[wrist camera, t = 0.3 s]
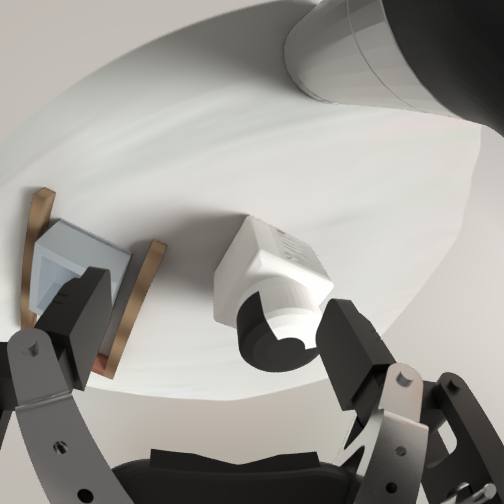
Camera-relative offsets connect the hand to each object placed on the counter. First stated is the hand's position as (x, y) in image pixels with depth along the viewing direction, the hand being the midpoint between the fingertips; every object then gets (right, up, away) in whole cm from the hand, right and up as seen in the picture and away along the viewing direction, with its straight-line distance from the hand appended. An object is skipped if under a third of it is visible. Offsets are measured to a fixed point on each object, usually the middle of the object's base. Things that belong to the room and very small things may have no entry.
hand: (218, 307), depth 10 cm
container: (+2, +1, +21) cm, 21 cm away
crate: (-17, 0, +19) cm, 26 cm away
